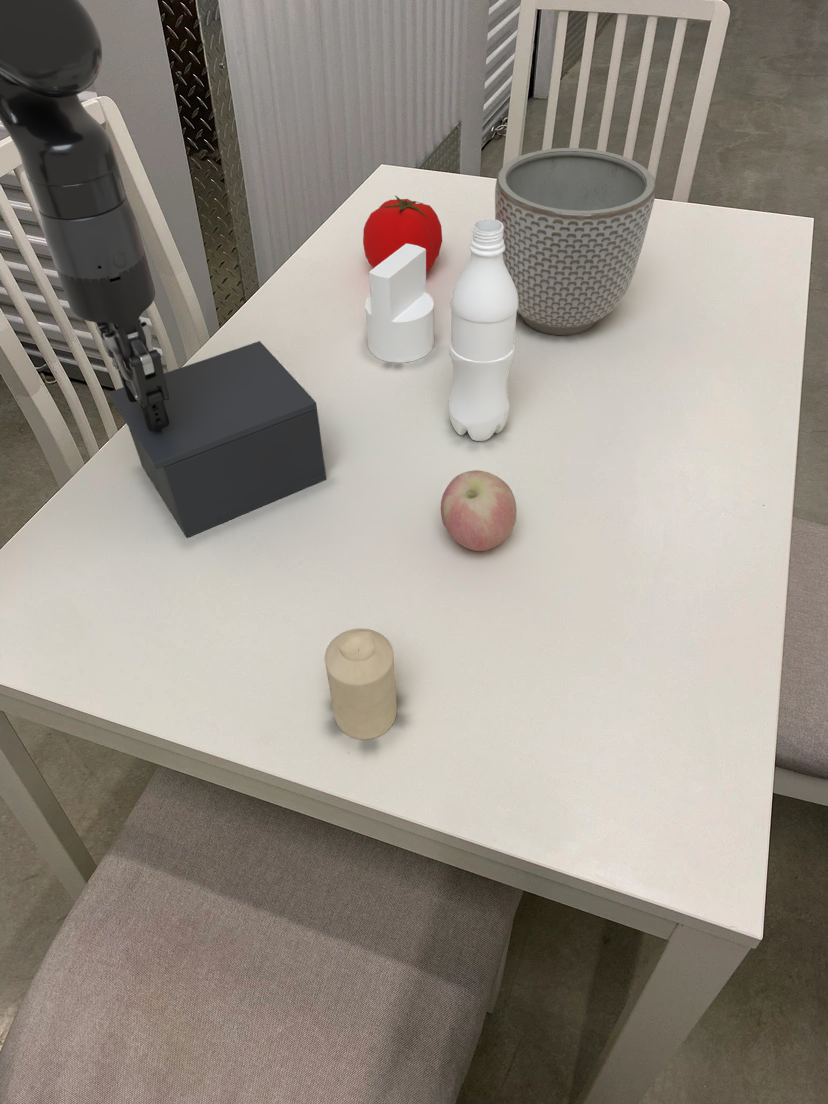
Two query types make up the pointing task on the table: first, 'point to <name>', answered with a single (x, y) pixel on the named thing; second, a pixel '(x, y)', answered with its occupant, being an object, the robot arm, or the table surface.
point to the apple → (478, 510)
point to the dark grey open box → (240, 473)
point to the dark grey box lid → (217, 403)
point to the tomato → (401, 230)
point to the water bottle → (482, 336)
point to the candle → (362, 682)
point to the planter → (572, 233)
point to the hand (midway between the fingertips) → (148, 412)
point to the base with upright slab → (400, 307)
